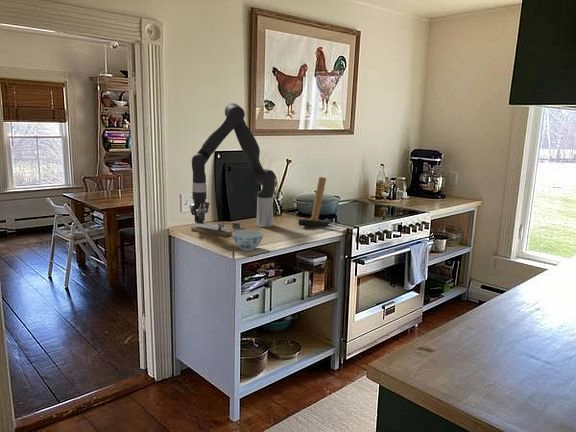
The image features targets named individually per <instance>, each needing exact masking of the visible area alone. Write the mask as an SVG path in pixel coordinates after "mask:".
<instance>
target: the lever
mask: <svg viewBox="0 0 576 432" xmlns="http://www.w3.org/2000/svg"><path fill="white" fill-rule="evenodd" d="M196 213H197V212H196ZM207 223H208V222H204V221H203V212H199V222H198V223H197V222H195V226H197V227H202V228H208V229H214V230H219V231H225V230H226V227H225V226H224V224H225V222H221V221H220V222H217V223H218V225H213V224H207Z"/></svg>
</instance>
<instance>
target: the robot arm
mask: <svg viewBox="0 0 576 432" xmlns="http://www.w3.org/2000/svg"><path fill="white" fill-rule="evenodd" d="M245 115H246V113H245V110H244V109H243V107H241V106H240V105H239V104H237V103H234V102H232V103H229V104H227V105H226V107H225V108H224V116H225V120H224V121H223V122H222V123H221V124H220V126H219V127H218V128H217V129H216V130H214V131H213V132H212V133H211V134H210V135H209V136H208V137H207V138H206V140H205V141H204V142H203V144H202V146H201V147H200V149H199V150H198V151H197V153H195V154H194V155H193V156H192V158H191V169H192V170H191V171H192V187H191V189H192V192H191V193H192V200H193V203H192V204H190V205H189V209H190V213H191V215H192V216H194V222H195V223H196V222H197V223H198V222H199V212H203V222H205V221H206V216H205V215H206V214H207V213H209V207H210V202H208V201H206V200H207V198H208V196H207V174H206V169H205V168H206V166H205V165H207V163H208V161H209V159H210V158H211V156H212V155H213V154H214V153H215V152H216V150H217V149H218V148H219V146H220V145H221V144H222V142H223V141H224V140H225V139H226V138H227V137H228V136H229V134H230V133H232V132H233V131H234V133H235V136H236V139H237V141H238V144H239V146H240V148H241V151H242V152H243V154H244V156H245V159H246V161H247V163H248V166H249V167H250V170H251V172H252V176H253V179H254V181H255V182H256V184H257V185H259V186H260V185H261V186H262V188H261V190H259V191H257V193H256V226H257V227H258V228H260V227H261V228H270V227H273V225H274V207H273V205H274V202H273V201H274V200H273V199H274V193H275V185H276V174H275V172H274V171H273V170H272V169H267V168H266V169H265V168H263V166H262V164H261V162H260V154H261V153H260V152H261V151H260V150H261V149H260V146H259V143H258V142H257V139H256V138H255V136H254V134H253V133H252V131H251V130H250V129H249V127H248V126H247V123H246V122H245V117H246V116H245ZM196 212H197V213H196Z"/></svg>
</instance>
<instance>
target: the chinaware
mask: <svg viewBox="0 0 576 432" xmlns="http://www.w3.org/2000/svg"><path fill="white" fill-rule="evenodd" d="M231 236H232V239H233V242H234V243H235V244H236V245H237V246H238V248H239V247H240V250H242V251H246V252H247V251H248V252H249V251H253V250H255V248H256V247H258V246H259V244H260V243H261V242H262V240H263V237H264V232H263V231H261V230H258V229H245V230H237V231H234V232H232V235H231Z"/></svg>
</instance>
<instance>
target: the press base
mask: <svg viewBox="0 0 576 432" xmlns="http://www.w3.org/2000/svg"><path fill="white" fill-rule="evenodd" d="M206 223H207V224H213V225H218V223H219V222H213V221H211V222H206ZM224 226H225V227H226V230H225V231H219V230H214V229H208V228H202V227H197V226H196V225H194V226H191V229H190V230H191V232H197V233H202V234H208V235H213V236H219V237H224V238H226V237H231V236H232V232H234V231H237V230H246V229H245V227H242V226H241V222H237V221H234V222H232V223H231V225H230V224H225V223H224Z"/></svg>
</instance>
